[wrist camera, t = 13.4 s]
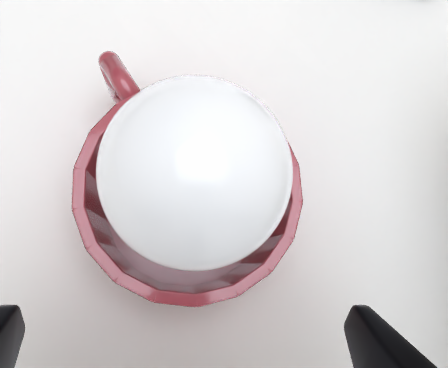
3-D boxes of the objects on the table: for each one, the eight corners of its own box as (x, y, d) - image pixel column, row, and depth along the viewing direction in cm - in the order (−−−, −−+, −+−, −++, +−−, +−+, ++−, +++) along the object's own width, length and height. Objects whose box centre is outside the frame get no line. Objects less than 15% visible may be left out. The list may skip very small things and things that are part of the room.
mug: (299, 231, 20) (344, 220, 15) (156, 331, 18) (149, 360, 13) (187, 63, 22) (192, -2, 16) (40, 135, 19) (-9, 86, 14)
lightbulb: (125, 158, 19) (67, 29, 9) (236, 151, 20) (306, 28, 10) (131, 274, 18) (72, 292, 7) (249, 260, 19) (347, 258, 8)
